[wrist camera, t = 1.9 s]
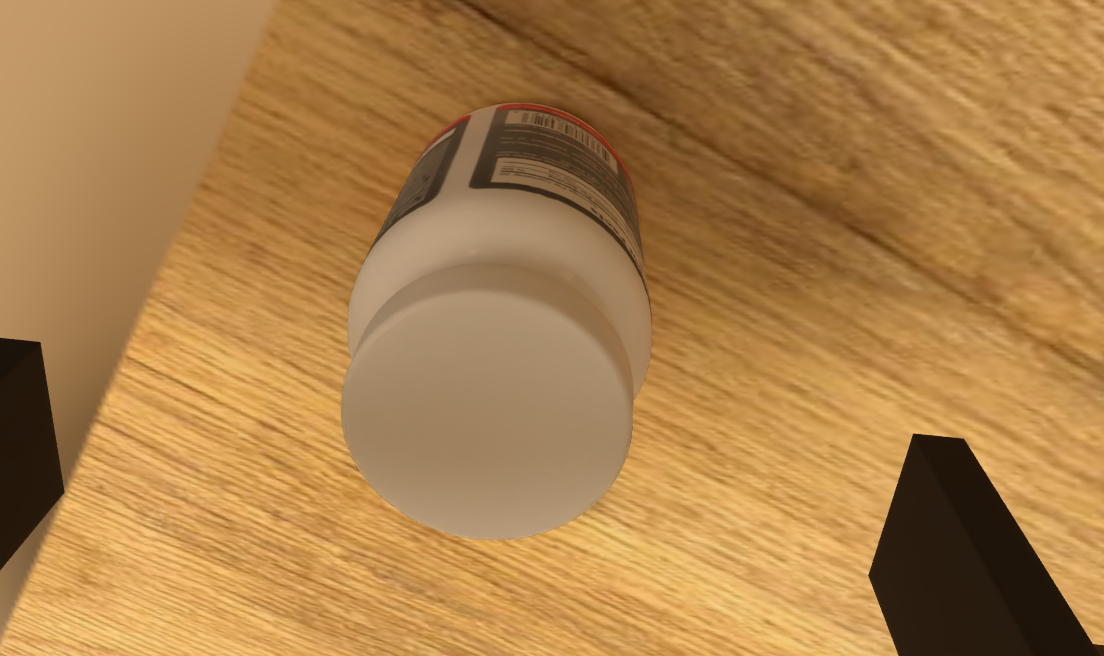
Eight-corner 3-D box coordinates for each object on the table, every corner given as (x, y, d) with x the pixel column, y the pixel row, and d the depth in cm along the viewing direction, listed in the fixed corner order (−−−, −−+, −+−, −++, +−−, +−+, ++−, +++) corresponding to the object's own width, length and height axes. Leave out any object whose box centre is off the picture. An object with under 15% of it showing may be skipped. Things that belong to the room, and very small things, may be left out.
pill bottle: (462, 338, 26) (392, 601, 17) (370, 144, 23) (234, 331, 15) (667, 272, 25) (708, 516, 16) (592, 61, 22) (591, 208, 13)
